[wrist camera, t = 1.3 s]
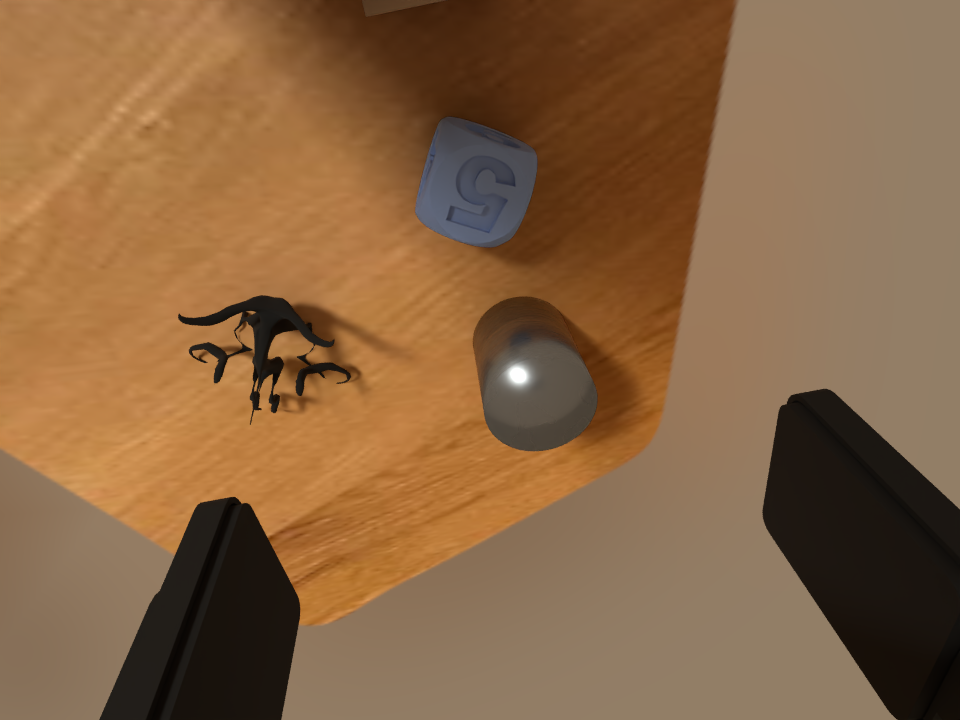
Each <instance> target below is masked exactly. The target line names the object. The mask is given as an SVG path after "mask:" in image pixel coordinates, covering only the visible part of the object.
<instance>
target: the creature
mask: <svg viewBox="0 0 960 720" xmlns="http://www.w3.org/2000/svg"><path fill="white" fill-rule="evenodd" d="M246 311H255V312H256V313H255V314H253V315H251V316H249V317H247V315H248V314H247V313H246ZM241 312H243V313H242V317H241V320H240V323H239V326H238V327H237V328H236V329H235V330H234V332H235V331H236V330H237V329H238V328H239V327H240V326H241V325H242V323H243V322H244V321H247V322H248V324H249V325H251V327H252V328H253V331H254V339H255V356H254V357H253V361H252V362H253V364H254V373H253V381H254V385H253V389H252V393H251V395H250V400H251V401H252V403H253V411H252V416H253V412H254V410H262V409H261V408H258V407H259V399H260V394H259V392H258V389H259V391H260V388H261V386H262V383H263V381H264V379H265V378H267V377H268V376H269V375H271V374H273V383H272V391H271V394H270V397H269V403H271V404H272V406H271V412H273V413H276V411H277V408H278V405H279V401H280V396H279V395H277V394H275V395H273V389H274V385H275V384H276V383H277V380H278V378H279V376H280V373H281V371H282V369H283V366H284V363H283V360H282V359H281V358H280V357H275V358H273V359H271V360H270V359H268V352H269V349H270V345H271V342H272V341H273V339H274V337H275V336H276V335H278V334H280V333H283V332H288V331H293V330H299V331H300V332H301V334H302V335H303V336H304V337H305V338H306V339H307V340H308V341H310V342H312V343H313V344H314V346H315V344H316V345H319V346H322V347H331V346H333V344H334V340H333V341H332V342H328V341H325V340H323V339H321V338H319V337H317V336H316V335H315V334H313V333H312V324H311V323H308V324H305V323H304V321H303V320H302V319H301V318H300V317H299V315H298V314H297V313H296V312H295V311H294V309H293V308H292V306H291V305H290V304H289V303H288V302H287V301H286V300H284V299H283V298H274V297H270V296H263V295H261V296H257V297H253V298H251V299H249V300H247V301H244V302H241V303H238V304H234V305H231V306H229V307H226V308H225V309H223V310H221V311H220V312H217V313H215V314H212V315H209V316H206V317H198V318H186V317H183V316H181V315H180V314H179V315H178V318H179V320H180V321H181V322H182V323H185V324H189V325H198V326H210V325H215V324H218V323H220V322H223V321H225V320H227V319H228V318H230V317H232V316H234V315H236V314H239V313H241ZM235 336H236V338H237V335H236V333H235ZM237 339H238V338H237ZM238 341H239V340H238ZM239 342H240V341H239ZM240 343H241V342H240ZM241 344H242V343H241ZM314 346H313V348H314ZM313 348H312V349H311V351H312V350H313ZM202 349H204V350H207V351H208V352H210V353H211V354H212V355H213V356H215V357H216V358H218V359H219V360H218V361H217V362H218V365H217V367H216V368H215V373H214V383H218V382H219V381H220V379H221V377H222V375H223V372H224V368H225V365H226V363H227V360H228V358H229V357H230V356H232V355H235V354H239V353H242V352H246V351H251V350H252V349H250V348H247V347H246V346H244V345H243V344H242V349H241V350H240V351H238V352H235V353H233V354H230V355H227V354H226V352H224V351H223V350H222V349H221V348H219V347H217V346H216V345H214V344H211V343H209V342H208V343H203V344H198V345H194V346H192V347H190V349H189V353H190V355H191V356H192V357H193V358H195V359H197V360H199V361H201V362H203V363H207V362H205V361H202V360H200V359H198V358H196V357H195V356H193V353H192V351H194V350H202ZM311 351H310V352H311ZM307 354H308V353H307ZM305 356H306V354H305V355H303V356H297V358H299V359H300V360H302V361H303V362H305V363H306V364H308V365H309V366H308V367H306V368H303V369H301V370H300V371H299V373H298V376H297V380H296V393H297V394H298V396H302V393H303V390H304V381H305V378H306V376H307V374H313V373H319V374H320V375H321V376H322V377H323V378H325V377H324V375H323V374H322V373H321V372H322V371H326V370H333V371H338V372H341V373H344V374H346V376H347V380H346V381H344V382H340V383H337V384H341V383H345V382H347V381H349V380H350V378H351V376H350V373H349V372H348V371H347V370H345V369H343V368H341V367H339V366H338V365H336V364H334V363H319V364H314V365H311V364H309V363H308V361H307V360H306V359H305ZM257 379H258V386H257V391H255V392H254V387H255V383H256V381H257ZM325 379H326V378H325ZM259 386H260V387H259ZM252 416H251V421H252ZM251 421H250V425H251Z"/></svg>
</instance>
